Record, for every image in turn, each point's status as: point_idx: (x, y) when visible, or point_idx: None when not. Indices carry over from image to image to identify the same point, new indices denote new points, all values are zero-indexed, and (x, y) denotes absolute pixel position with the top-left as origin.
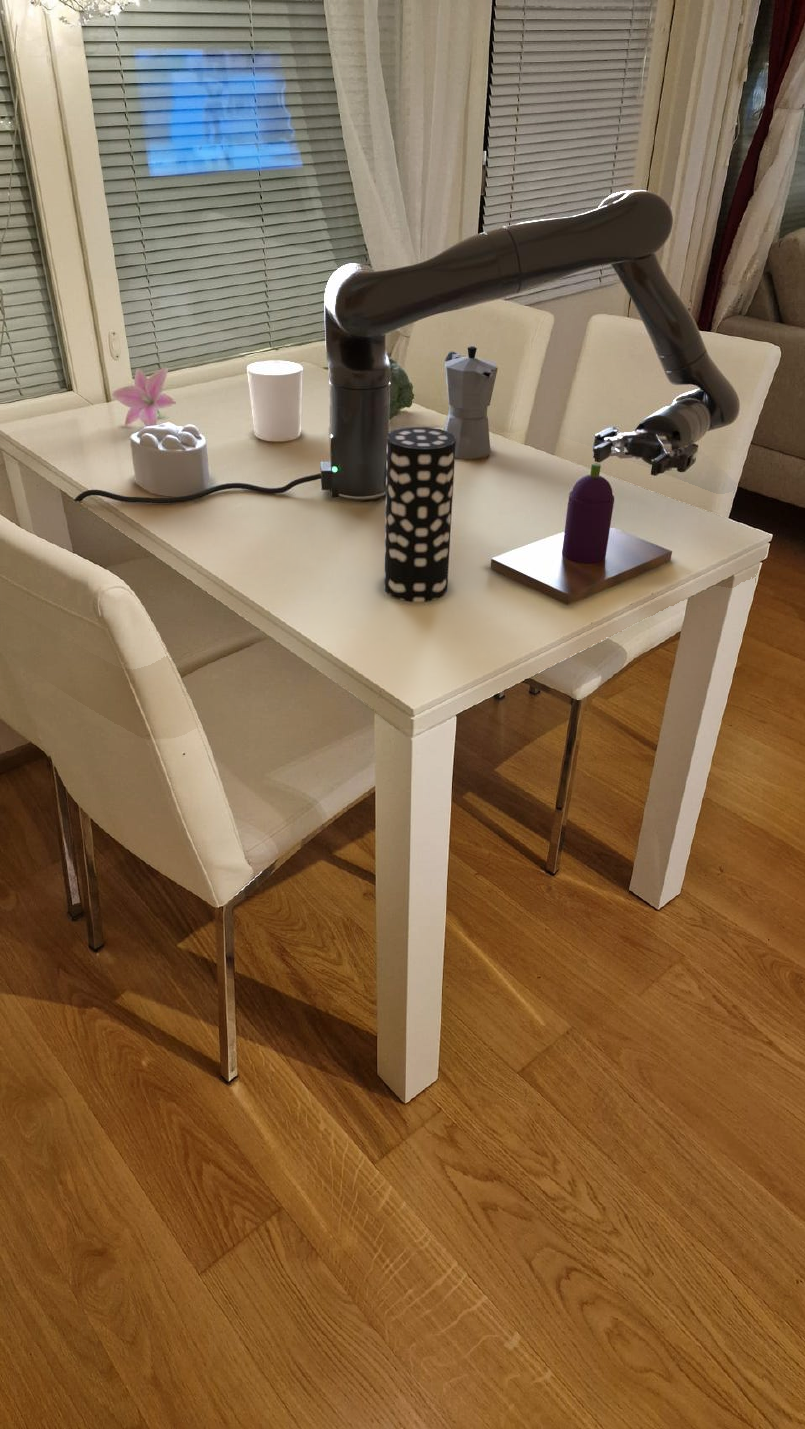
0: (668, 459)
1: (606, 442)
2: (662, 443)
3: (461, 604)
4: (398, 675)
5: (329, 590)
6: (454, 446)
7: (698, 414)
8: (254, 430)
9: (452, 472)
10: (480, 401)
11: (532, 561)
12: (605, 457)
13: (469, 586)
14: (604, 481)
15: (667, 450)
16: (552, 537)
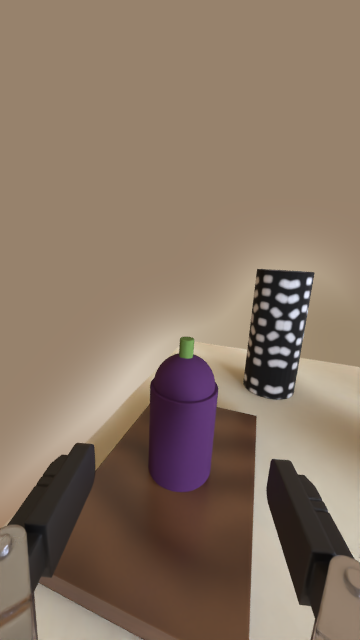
0: (25, 507)
1: (315, 525)
2: (30, 623)
3: (225, 383)
4: (203, 345)
5: (299, 372)
6: (260, 273)
7: None
8: None
9: (257, 293)
10: None
11: (220, 425)
12: (284, 546)
13: (241, 399)
14: (168, 358)
15: (8, 579)
16: (249, 494)
